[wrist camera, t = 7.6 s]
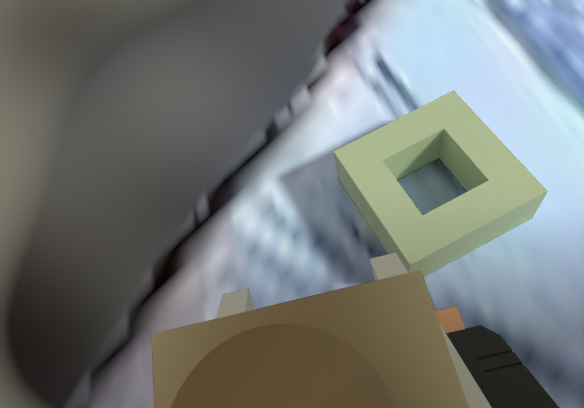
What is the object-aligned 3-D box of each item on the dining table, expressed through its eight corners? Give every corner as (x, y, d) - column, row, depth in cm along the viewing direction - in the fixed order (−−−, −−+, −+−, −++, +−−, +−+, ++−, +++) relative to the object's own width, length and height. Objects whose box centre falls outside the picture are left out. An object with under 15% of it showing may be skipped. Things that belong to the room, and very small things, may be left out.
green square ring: (448, 122, 31) (453, 90, 29) (532, 217, 27) (547, 191, 25) (338, 178, 31) (333, 151, 28) (408, 284, 27) (410, 264, 24)
